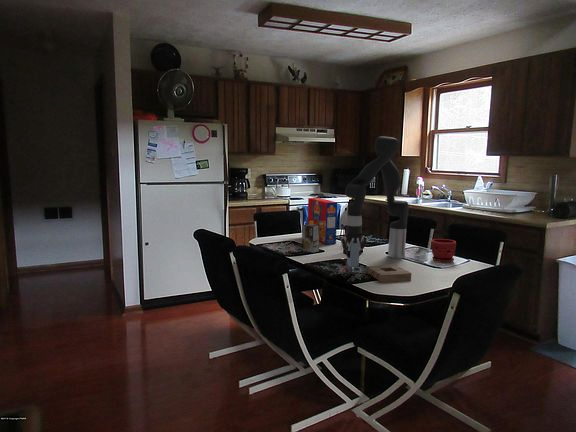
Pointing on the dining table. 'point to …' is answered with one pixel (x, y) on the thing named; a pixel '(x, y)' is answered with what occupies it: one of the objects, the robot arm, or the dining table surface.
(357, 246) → the peg
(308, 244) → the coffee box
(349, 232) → the robot arm
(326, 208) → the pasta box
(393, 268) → the socket block
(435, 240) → the plant pot
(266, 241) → the dining table surface
